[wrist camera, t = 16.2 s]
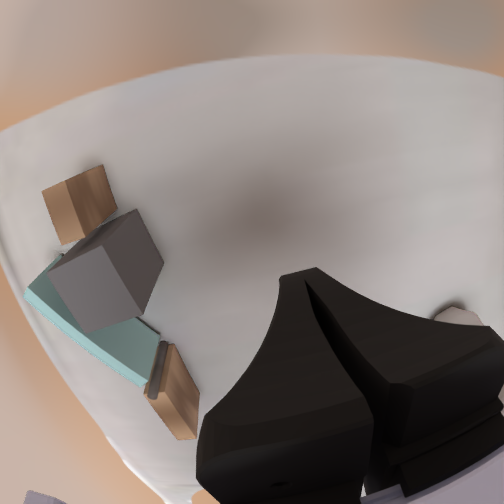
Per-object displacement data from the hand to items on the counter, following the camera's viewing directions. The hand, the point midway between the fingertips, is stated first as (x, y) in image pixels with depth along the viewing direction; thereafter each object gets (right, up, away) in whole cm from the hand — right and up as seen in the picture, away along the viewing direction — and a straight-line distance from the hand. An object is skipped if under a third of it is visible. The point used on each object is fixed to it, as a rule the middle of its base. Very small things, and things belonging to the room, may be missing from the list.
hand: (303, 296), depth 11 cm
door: (-13, -2, +10) cm, 16 cm away
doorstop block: (-10, +2, +9) cm, 14 cm away
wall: (-9, -2, +11) cm, 14 cm away
